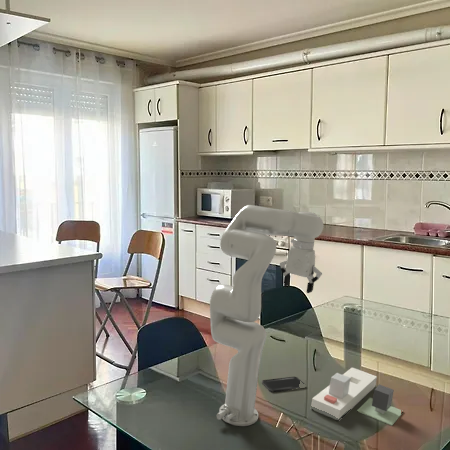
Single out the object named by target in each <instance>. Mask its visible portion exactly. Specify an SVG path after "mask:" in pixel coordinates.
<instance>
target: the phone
mask: <svg viewBox="0 0 450 450" xmlns="http://www.w3.org/2000/svg"><path fill="white" fill-rule="evenodd" d="M300 381H301V382H302V383H303V384H305V382H303V381H302V380H301V379H299V377H297V376H289V377H288V376H287V377H279V378H270V379H269V378H268V379H263V380H262V381H261V384H262V385H263V386H264V387H265V388H266V389H267V391H268V392H270V393H280V392H287V391H288V390H289V391H293V390H292V389H296V388H300V387H299V384H300Z"/></svg>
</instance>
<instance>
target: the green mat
mask: <svg viewBox="0 0 450 450" xmlns="http://www.w3.org/2000/svg"><path fill="white" fill-rule="evenodd" d="M372 401H373V397H369V398H368V399H367V400H366V401H365V402H364V403H363V404H362V405H361V406H360V407H359V408H358V409H357V410H356V412H357V411H358V413H360V414H362V415H365V416H367V417H370V418H371V419H374V420H377V421H379V422H381V423H384V424H387V425H389V426H393V425H394V424H395V423H396V422H397V420H399V418H400V417H401V416H402V414H401V410H402V409H400V408H397V407H395V406H392V405H391V407H390V408H389V409H388V410H387V411H386V412H385V413H384V414H382V413H380V412H377V411H375V407H374V406H372Z"/></svg>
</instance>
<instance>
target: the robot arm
mask: <svg viewBox="0 0 450 450" xmlns="http://www.w3.org/2000/svg"><path fill="white" fill-rule="evenodd" d="M323 230H324V221H323V219H322V218H321V217H320V216H318V214H316V213H315V212H312V211H299V212H296V211H292V210H287V209H280V208H279V209H278V208H272V207H266V206H259V205H254V204H247V205H245V206H243V207H242V208H241V209H240V210H239V211H238V213H237V214H236V215H235V216H234V217H233V218H232V220H231V222H230V223H229V225H228V226H227V227H226V229H225V230H224V232H223V233H222V235H221V238H220V241H219V242H220V243H219V245H220V246H219V247H220V249H221V251H222V253H224V254H225V255H227V256H229V257H233V258H237V259H240V260H241V259H242V260H247V261H246V262H244V263H243V264H242V265H241V266H240V267H239V268H238V269H237V270H236V271H235V272H234V274H233V276H232V285H229V284H219V285H217V286H216V287H215V288H214V289H213V291H212V293H211V296H210V300H209V315H210V318H209V319H210V320H209V321H210V333H211V338H212V340H213V341H214V342H216V343H218V344H221V345H223V346H225V347H228V348H232V349H233V350H234V349H235V350H237V353H235V354H234V355H233V356H232V357H231V358H230V360H229V363H228V373H227V382H226V390H225V400H224V404H222V405H221V406H220V407H219V409H218V410H219V411H218V413H217V414H216V419H217V420H220V421H221V420H223V421H224V422H225V423H227V424H229V425H232V426H237V427H238V426H239V427H247V426H251V425H253V424H255V423H256V422H257V421H258V419H259V412H258V410H257V409H256V405H255V404H256V399H257V391H258V388H257V387H258V381H259V375H260V374H259V372H260V364H261V359H262V354H263V351H264V347H265V344H266V341H267V331H266V329H265V328H264V326H263V325H261V324H260V323H258V322H256V321H257V320H258V319H259V318H260V317H261V312H262V281H263V278H264V275H265V273H266V271H267V269H268V268H269V266H270V265H271V262H272V261H273V259H274V257H275V255H276V253H277V242H276V240H275V239H274V238H273V237H274V236H277V237H279V236H283V237H293V239H290V243H292V246H290V249H289V251H288V254H287V259H286V260H285V261H282V262H281V261H280V263H279V267H280V270H281V272H282V274H283V286H284V287H289V286H290V283H291V274H292V275H294V276H298V277H303V278H307V280H308V282H307V286H306V293H307V294H310V293H312V292H313V291H314V285H315V284H314V283H315V282H317V281H318V280H319V279H320V278H321V276H322V275H323V273H322V272H321V271H320V270H319V268H317V267H316V251H315V249H314V247H315V246H314V245H315V240H316V239H315V238H318V237H319V236H321V234H322V233H323ZM272 236H273V237H272ZM314 274H316V275H315V276H314Z"/></svg>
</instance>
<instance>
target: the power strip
mask: <svg viewBox="0 0 450 450" xmlns="http://www.w3.org/2000/svg"><path fill="white" fill-rule="evenodd" d="M342 375H344V376H347V377H350V385H349V391H348V394H347V395H346V396H345V397H344V398H343V399H341V398H338V397H336V396H333V395H331V394H329V388H330V384H329V385H328V386H326V387H325V388H324V389H322V390H320V392H318V393H317V394H316V395H314V396H313V397H312V398H311V405H310V407H311V406H312V407H315V408H317V409H319V410H322V411H325V412H327V413H329V414H331V415H333V416H335V417H336V418H338V419H339V418H340V417H341V416H342V415H343V414H344V413H345V412H346V411H348V410H350V409H351V410H352V409H353V408H355V406H356V405H358V403H360V402H361V401H362V399H364V398H365V397H366V396H367V395H368V394H369V393H370V392H371V391H373V390H374V389H375V388H376V384H377V378H378V376H377V375H373V374H371V373H368V372H366V371H363V370H361V369H358V368H355V367H350V369H348V370H347V371H345V372H344V373H343V374H342ZM351 410H350V411H351Z"/></svg>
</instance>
